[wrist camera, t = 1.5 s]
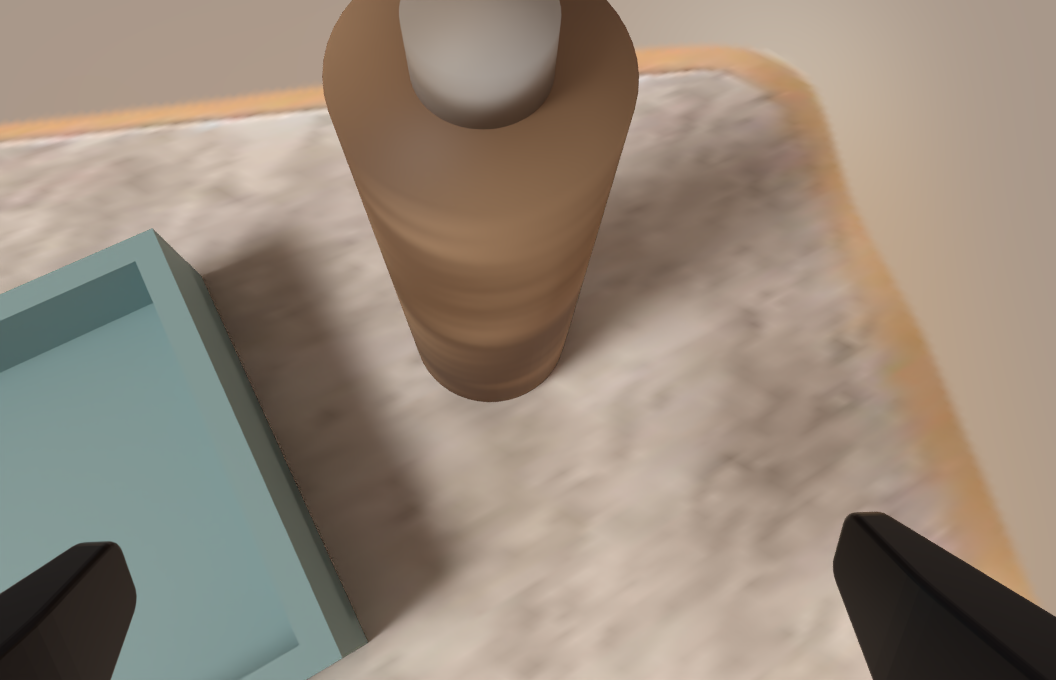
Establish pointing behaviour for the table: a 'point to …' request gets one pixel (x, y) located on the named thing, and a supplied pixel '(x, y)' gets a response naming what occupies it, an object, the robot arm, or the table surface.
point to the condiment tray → (160, 471)
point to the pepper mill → (483, 168)
